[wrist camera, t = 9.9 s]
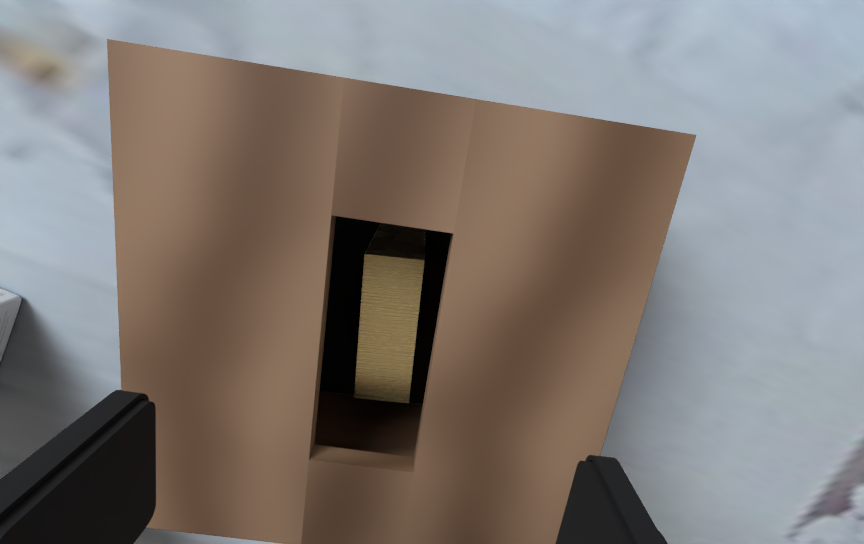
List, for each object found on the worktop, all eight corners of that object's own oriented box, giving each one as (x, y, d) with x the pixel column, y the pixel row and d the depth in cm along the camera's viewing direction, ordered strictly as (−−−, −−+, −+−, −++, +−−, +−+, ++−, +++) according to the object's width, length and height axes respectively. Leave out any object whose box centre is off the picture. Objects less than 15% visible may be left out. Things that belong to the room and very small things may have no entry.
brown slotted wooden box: (590, 133, 22) (696, 134, 13) (519, 429, 26) (563, 575, 18) (240, 76, 21) (106, 38, 12) (229, 391, 26) (127, 525, 17)
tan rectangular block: (424, 260, 17) (408, 403, 19) (426, 227, 23) (413, 339, 25) (364, 253, 17) (353, 397, 19) (380, 222, 23) (371, 335, 25)
